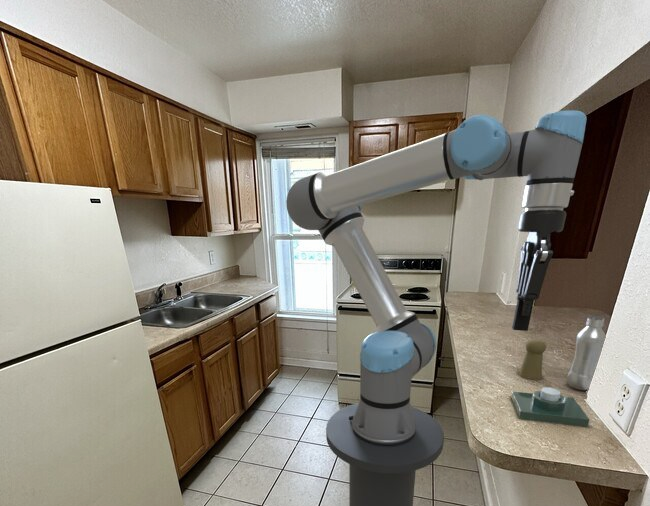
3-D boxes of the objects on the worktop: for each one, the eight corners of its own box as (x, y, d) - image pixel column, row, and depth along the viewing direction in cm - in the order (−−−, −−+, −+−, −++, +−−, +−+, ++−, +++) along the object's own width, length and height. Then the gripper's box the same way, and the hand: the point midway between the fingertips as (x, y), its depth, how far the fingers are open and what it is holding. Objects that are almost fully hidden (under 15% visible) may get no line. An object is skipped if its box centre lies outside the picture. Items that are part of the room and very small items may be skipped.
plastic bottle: (592, 385, 100) (610, 317, 93) (593, 395, 94) (612, 323, 87) (565, 380, 103) (581, 314, 96) (564, 389, 98) (581, 319, 91)
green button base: (519, 418, 84) (522, 403, 83) (511, 398, 94) (513, 384, 93) (587, 427, 80) (591, 411, 79) (571, 404, 90) (575, 390, 88)
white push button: (542, 401, 85) (543, 393, 84) (537, 394, 88) (539, 386, 87) (561, 403, 83) (562, 395, 83) (556, 395, 87) (557, 388, 86)
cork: (541, 381, 103) (548, 345, 100) (518, 377, 106) (524, 342, 103) (541, 373, 108) (549, 339, 104) (519, 370, 111) (525, 337, 107)
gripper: (579, 208, 60) (548, 340, 68) (555, 210, 71) (531, 322, 80) (530, 209, 62) (506, 337, 70) (514, 210, 73) (495, 320, 82)
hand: (519, 329), depth 75 cm, fingers closed
